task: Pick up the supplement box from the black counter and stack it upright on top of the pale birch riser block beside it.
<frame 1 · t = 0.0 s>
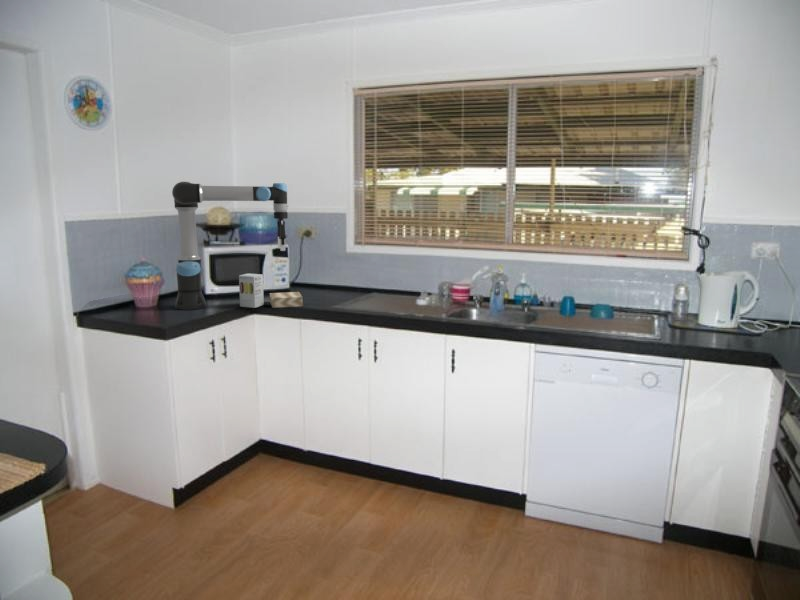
hand: (281, 249, 318), 28 cm above the worktop, tool pointing down, fingers open, 13 cm apart
birch riser: (286, 304, 307), on the worktop
supplement box: (252, 306, 302), on the worktop
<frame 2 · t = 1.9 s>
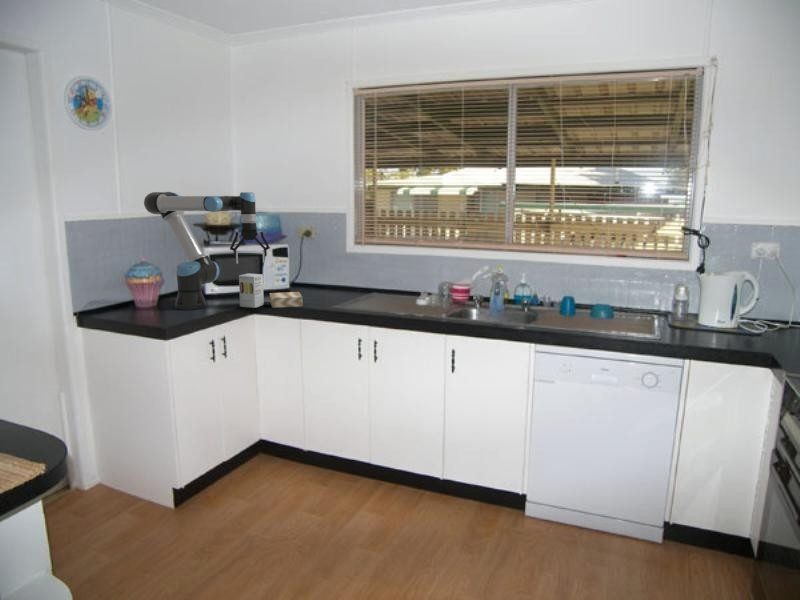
hand: (250, 263, 297), 23 cm above the worktop, tool pointing down, fingers open, 13 cm apart
nothing on the worktop moved.
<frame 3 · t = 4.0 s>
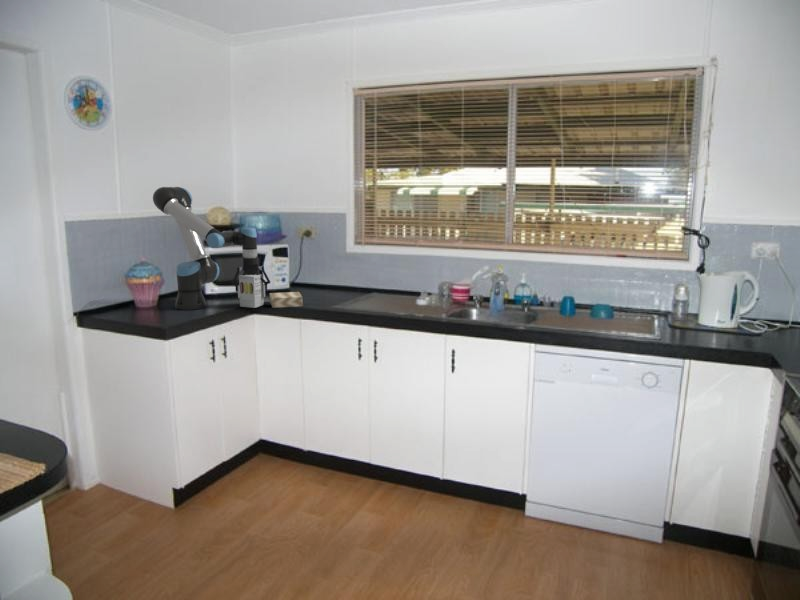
hand: (251, 297, 301), 5 cm above the worktop, tool pointing down, fingers closed on supplement box, 12 cm apart
supplement box: (252, 306, 302), on the worktop, touching gripper
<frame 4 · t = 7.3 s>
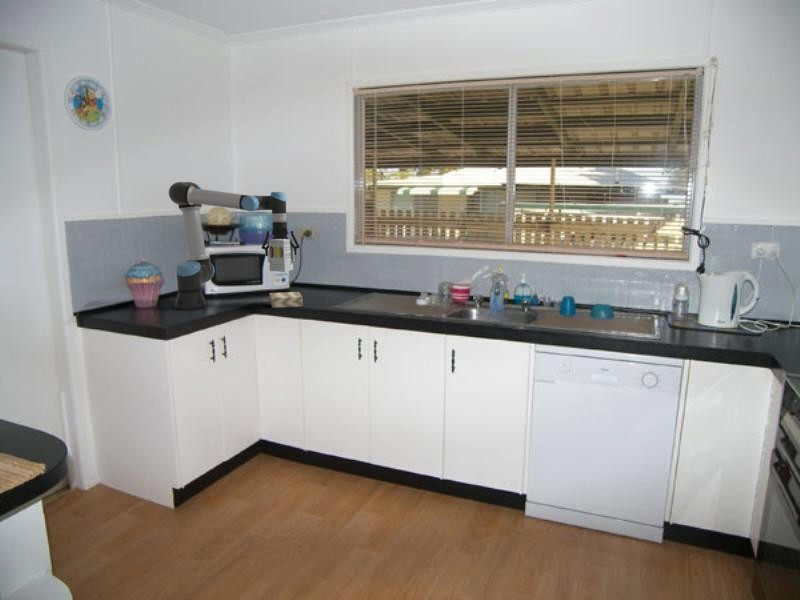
hand: (281, 261, 302), 23 cm above the worktop, tool pointing down, fingers closed on supplement box, 12 cm apart
supplement box: (281, 270, 303), point 18 cm above the worktop, touching gripper
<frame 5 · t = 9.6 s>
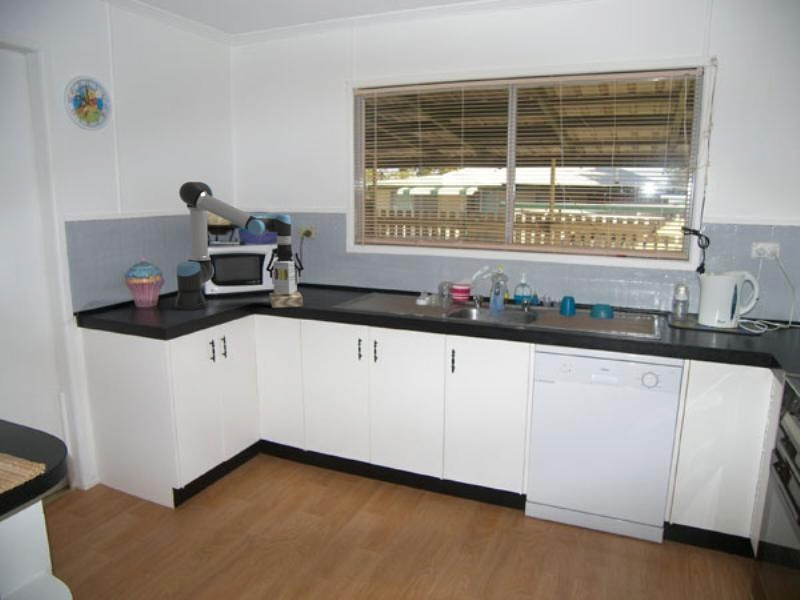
hand: (285, 283, 305), 11 cm above the worktop, tool pointing down, fingers closed on supplement box, 12 cm apart
supplement box: (285, 292, 306), point 7 cm above the worktop, touching gripper
when the fingers open (11 cm above the worktop, at t = 10.8 s): supplement box drops 1 cm, resting on birch riser.
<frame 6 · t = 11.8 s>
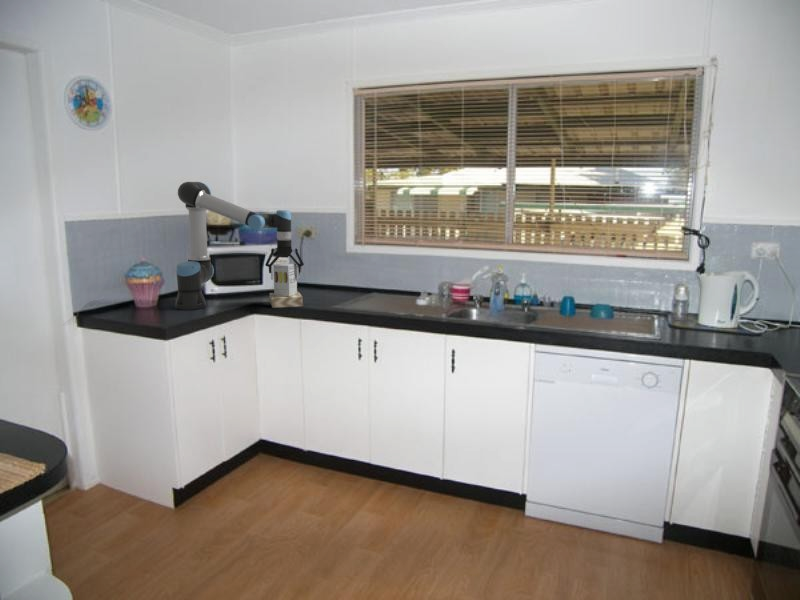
hand: (284, 278, 305), 14 cm above the worktop, tool pointing down, fingers open, 13 cm apart
supplement box: (285, 295, 306), point 5 cm above the worktop, touching birch riser, gripper
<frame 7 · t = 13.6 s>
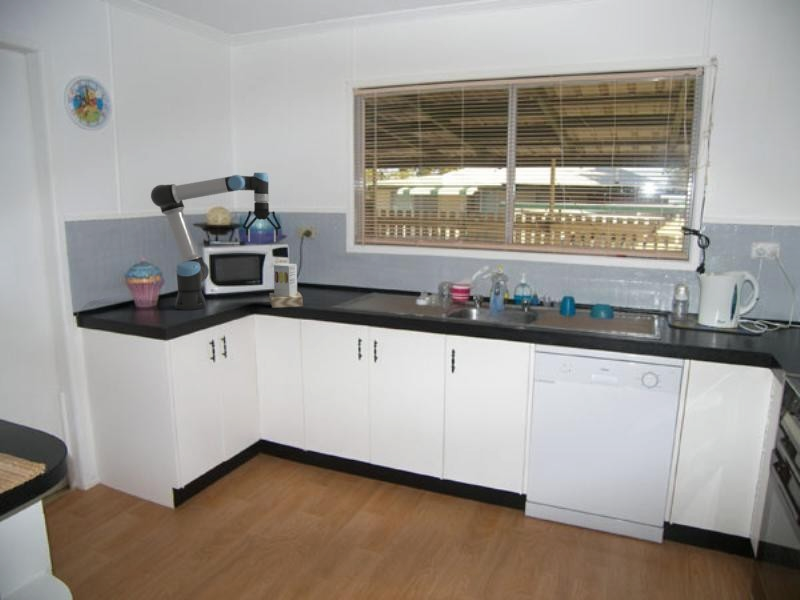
hand: (262, 241, 307), 33 cm above the worktop, tool pointing down, fingers open, 13 cm apart
supplement box: (285, 295, 306), point 5 cm above the worktop, touching birch riser
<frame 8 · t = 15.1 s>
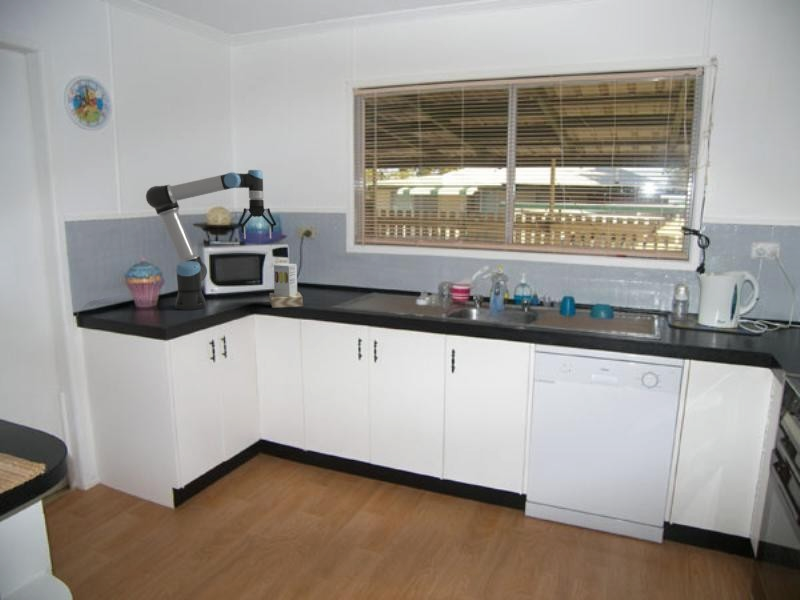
hand: (257, 238, 308), 35 cm above the worktop, tool pointing down, fingers open, 13 cm apart
nothing on the worktop moved.
at the end: supplement box inside the target area on the birch riser (0.1 cm from its centre), point 4.8 cm above the birch riser's base; supplement box tilted 0°; the gripper is holding nothing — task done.
